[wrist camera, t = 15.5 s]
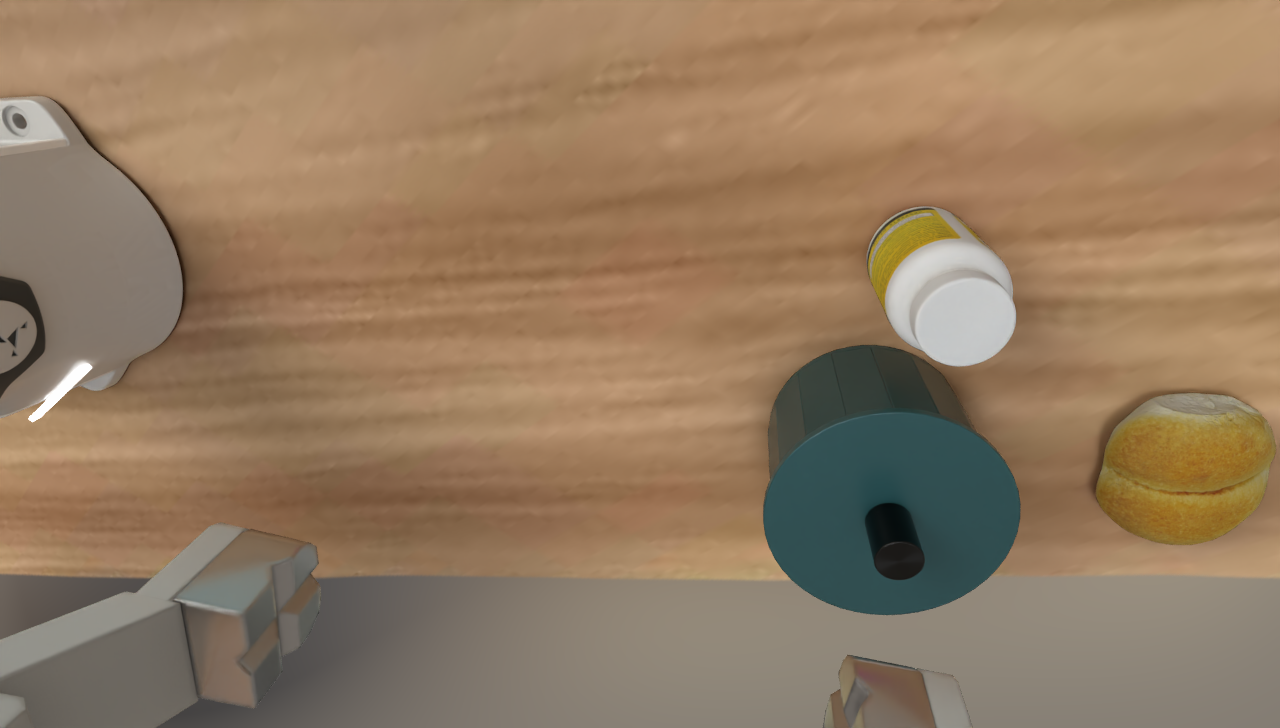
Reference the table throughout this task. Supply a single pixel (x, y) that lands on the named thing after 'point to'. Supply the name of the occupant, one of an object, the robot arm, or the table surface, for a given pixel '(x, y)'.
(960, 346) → the supplement bottle
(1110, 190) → the table surface
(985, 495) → the pot lid
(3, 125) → the robot arm
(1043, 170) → the table surface
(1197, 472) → the bread roll
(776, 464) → the pot
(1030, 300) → the table surface
